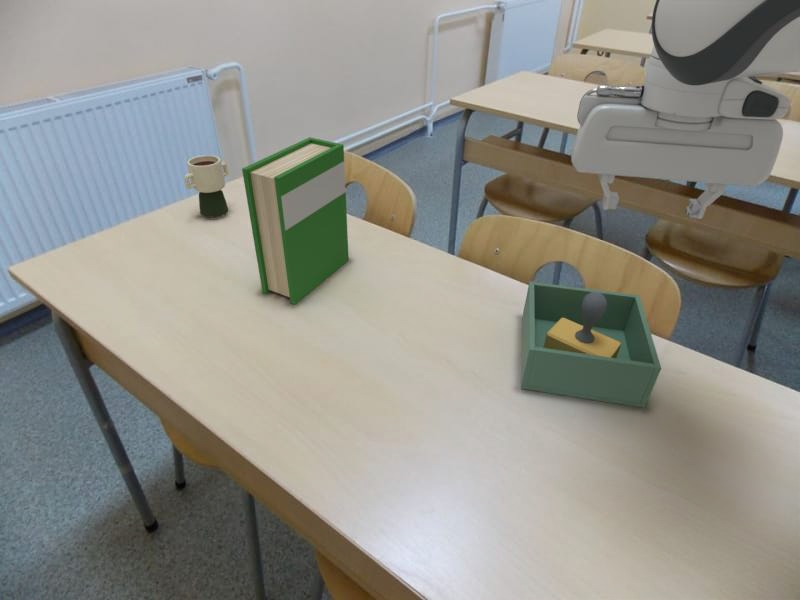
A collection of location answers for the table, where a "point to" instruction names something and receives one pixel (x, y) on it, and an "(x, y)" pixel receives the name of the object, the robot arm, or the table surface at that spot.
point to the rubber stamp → (583, 331)
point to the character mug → (208, 183)
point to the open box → (583, 372)
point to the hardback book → (298, 216)
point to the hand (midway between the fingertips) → (650, 212)
